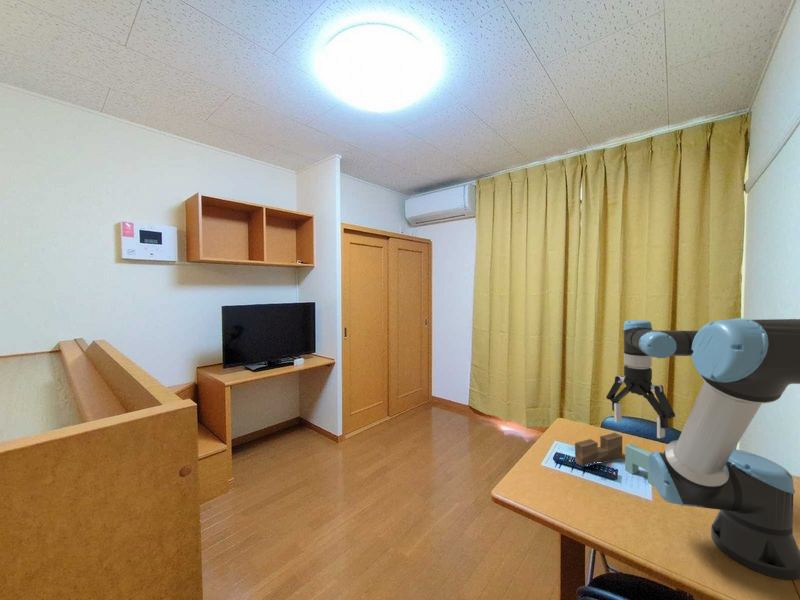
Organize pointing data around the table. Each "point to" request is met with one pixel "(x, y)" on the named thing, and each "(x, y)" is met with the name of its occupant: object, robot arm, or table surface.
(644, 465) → the light blue piece
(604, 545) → the table surface
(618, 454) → the walnut fin
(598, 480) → the table surface
